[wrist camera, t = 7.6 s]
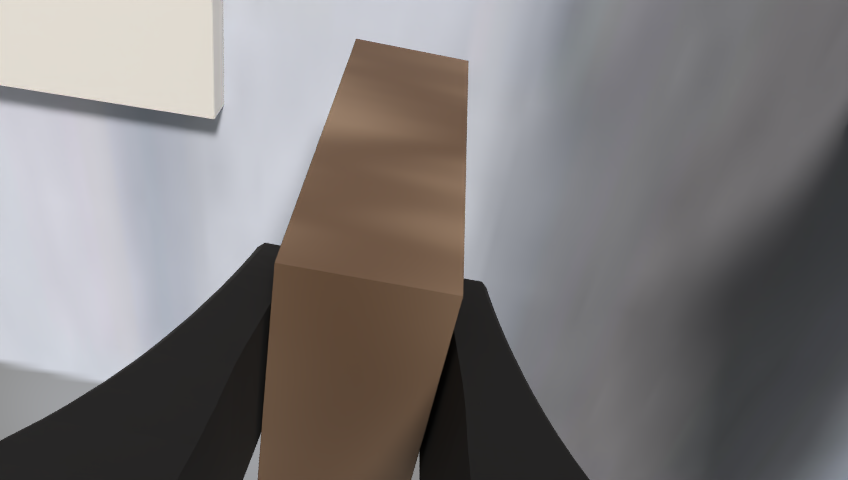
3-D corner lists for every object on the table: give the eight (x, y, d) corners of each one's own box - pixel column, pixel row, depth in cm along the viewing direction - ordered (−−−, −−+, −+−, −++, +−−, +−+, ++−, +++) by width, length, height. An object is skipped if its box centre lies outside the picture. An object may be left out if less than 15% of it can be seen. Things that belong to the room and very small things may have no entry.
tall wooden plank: (468, 61, 16) (463, 296, 10) (427, 240, 19) (401, 513, 13) (356, 38, 16) (274, 263, 9) (331, 222, 19) (256, 489, 12)
